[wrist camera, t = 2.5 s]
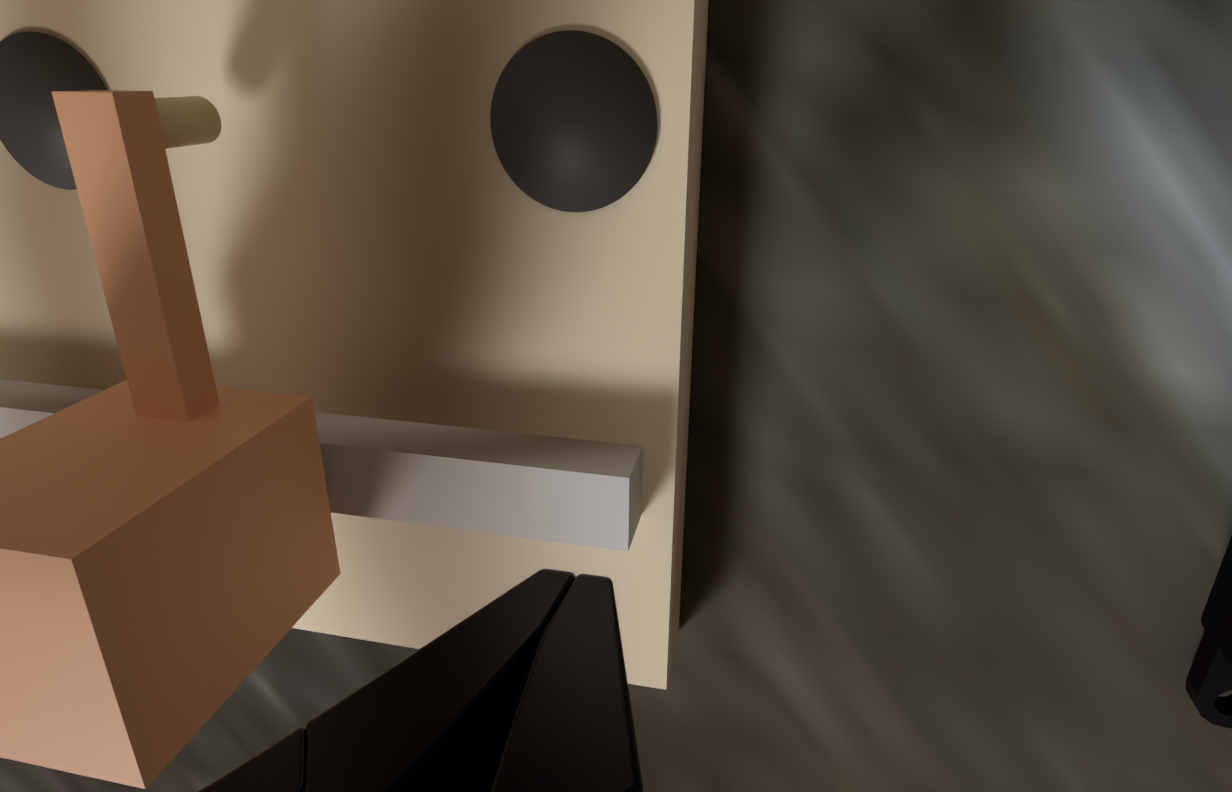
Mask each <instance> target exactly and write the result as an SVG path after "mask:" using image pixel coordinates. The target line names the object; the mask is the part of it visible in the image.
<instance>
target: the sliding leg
mask: <svg viewBox="0 0 1232 792" xmlns="http://www.w3.org/2000/svg"><path fill="white" fill-rule="evenodd" d="M51 92H52V95H53V99H54V103H55V107H56V111H57V115H58V118H59V122H60V126H61V130H62V134H63V138H64V141H65V145H66V149H67V153H68V157H69V161H70V164H71V168H72V172H73V176H74V180H75V184H76V187H77V191H78V195H79V199H80V203H81V207H82V210H83V214H84V218H85V222H86V226H87V230H88V233H89V237H90V241H91V245H92V249H93V253H94V257H95V260H96V264H97V268H98V272H99V276H100V280H101V283H102V287H103V291H104V295H105V299H106V303H107V306H108V310H109V314H110V318H111V322H112V326H113V329H114V333H115V337H116V341H117V345H118V349H119V352H120V356H121V360H122V364H123V368H124V372H125V375H126V379H127V380H125V381H123V382H121V383H119V384H117V385H114V386H112V387H110V388H108V389H106V390H104V391H102V392H99V393H97V394H95V395H93V396H91V397H89V398H87V399H84V400H82V401H80V402H78V403H76V404H74V405H72V406H69V407H67V408H65V409H63V410H61V411H59V412H56V413H54V414H52V415H50V416H48V417H46V418H44V419H41V420H39V421H37V422H35V423H33V424H31V425H29V426H26V427H24V428H22V429H20V430H18V431H16V432H13V433H11V434H9V435H7V436H5V437H3V438H1V439H0V757H2V758H6V759H11V760H15V761H20V762H25V763H29V764H34V765H38V766H43V767H47V768H52V769H56V770H61V771H65V772H70V773H75V774H79V775H84V776H88V777H93V778H97V779H102V780H106V781H111V782H116V783H120V784H125V785H129V786H134V787H138V788H143V789H146V788H147V787H148V785H149V784H150V783H151V782H152V781H153V780H154V779H155V778H156V777H157V776H158V774H159V773H160V772H161V771H162V770H163V769H164V768H165V767H166V766H167V765H168V763H169V762H170V761H171V760H172V759H173V758H174V757H175V756H176V755H177V754H178V752H179V751H180V750H181V749H182V748H183V747H184V746H185V745H186V744H187V742H188V741H189V740H190V739H191V738H192V737H193V736H194V735H195V734H196V733H197V731H198V730H199V729H200V728H201V727H202V726H203V725H204V724H205V723H206V722H207V720H208V719H209V718H210V717H211V716H212V715H213V714H214V713H215V712H216V711H217V709H218V708H219V707H220V706H221V705H222V704H223V703H224V702H225V701H226V700H227V698H228V697H229V696H230V695H231V694H232V693H233V692H234V691H235V690H236V688H237V687H238V686H239V685H240V684H241V683H242V682H243V681H244V680H245V679H246V677H247V676H248V675H249V674H250V673H251V672H252V671H253V670H254V669H255V668H256V666H257V665H258V664H259V663H260V662H261V661H262V660H263V659H264V658H265V657H266V655H267V654H268V653H269V652H270V651H271V650H272V649H273V648H274V647H275V646H276V644H277V643H278V642H279V641H280V640H281V639H282V638H283V637H284V636H285V634H286V633H287V632H288V631H289V630H290V629H291V628H292V627H293V626H294V625H295V623H296V622H297V621H298V620H299V619H300V618H301V617H302V616H303V615H304V614H305V612H306V611H307V610H308V609H309V608H310V607H311V606H312V605H313V604H314V603H315V601H316V600H317V599H318V598H319V597H320V596H321V595H322V594H323V593H324V592H325V590H326V589H327V588H328V587H329V586H330V585H331V584H332V583H333V582H334V580H335V579H336V578H337V577H338V576H339V575H340V574H341V573H340V567H339V561H338V555H337V548H336V542H335V536H334V530H333V524H332V517H331V511H330V505H329V499H328V493H327V486H326V480H325V474H324V468H323V461H322V455H321V449H320V443H319V437H318V430H317V424H316V418H315V412H314V406H313V399H312V397H311V396H301V395H291V394H281V393H271V392H260V391H250V390H240V389H230V388H220V387H216V385H215V380H214V376H213V371H212V366H211V361H210V357H209V352H208V347H207V343H206V338H205V333H204V329H203V324H202V319H201V315H200V310H199V305H198V300H197V296H196V291H195V286H194V282H193V277H192V272H191V268H190V263H189V258H188V253H187V249H186V244H185V239H184V235H183V230H182V225H181V221H180V216H179V211H178V206H177V202H176V197H175V192H174V188H173V183H172V178H171V174H170V169H169V164H168V159H167V155H166V150H165V149H168V148H175V147H183V146H191V145H198V144H206V143H211V142H213V141H215V140H216V139H217V138H218V136H219V135H220V132H221V119H220V115H219V113H218V111H217V109H216V108H215V106H214V105H213V104H212V103H211V102H210V101H209V100H207V99H206V98H204V97H200V96H186V97H166V98H154V94H153V91H129V90H81V91H51Z"/></svg>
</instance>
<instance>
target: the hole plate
mask: <svg viewBox="0 0 1232 792" xmlns="http://www.w3.org/2000/svg"><path fill="white" fill-rule="evenodd" d="M708 2H709V0H0V439H1V438H3V437H5V436H7V435H9V434H11V433H13V432H16V431H18V430H20V429H22V428H24V427H26V426H29V425H31V424H33V423H35V422H37V421H39V420H41V419H44V418H46V417H48V416H50V415H52V414H54V413H56V412H59V411H61V410H63V409H65V408H67V407H69V406H72V405H74V404H76V403H78V402H80V401H82V400H84V399H87V398H89V397H91V396H93V395H95V394H97V393H99V392H102V391H104V390H106V389H108V388H110V387H112V386H114V385H117V384H119V383H121V382H123V381H125V380H127V379H126V375H125V372H124V368H123V364H122V360H121V356H120V352H119V349H118V345H117V341H116V337H115V333H114V329H113V326H112V322H111V318H110V314H109V310H108V306H107V303H106V299H105V295H104V291H103V287H102V283H101V280H100V276H99V272H98V268H97V264H96V260H95V257H94V253H93V249H92V245H91V241H90V237H89V233H88V230H87V226H86V222H85V218H84V214H83V210H82V207H81V203H80V199H79V195H78V191H77V187H76V184H75V180H74V176H73V172H72V168H71V164H70V161H69V157H68V153H67V149H66V145H65V141H64V138H63V134H62V130H61V126H60V122H59V118H58V115H57V111H56V107H55V103H54V99H53V95H52V92H51V91H81V90H129V91H153V94H154V98H166V97H186V96H200V97H204V98H206V99H207V100H209V101H210V102H211V103H212V104H213V105H214V106H215V108H216V109H217V111H218V113H219V115H220V119H221V132H220V135H219V136H218V138H217V139H216V140H215V141H213V142H211V143H206V144H198V145H191V146H183V147H175V148H168V149H165V150H166V155H167V159H168V164H169V169H170V174H171V178H172V183H173V188H174V192H175V197H176V202H177V206H178V211H179V216H180V221H181V225H182V230H183V235H184V239H185V244H186V249H187V253H188V258H189V263H190V268H191V272H192V277H193V282H194V286H195V291H196V296H197V300H198V305H199V310H200V315H201V319H202V324H203V329H204V333H205V338H206V343H207V347H208V352H209V357H210V361H211V366H212V371H213V376H214V380H215V385H216V387H220V388H230V389H240V390H250V391H260V392H271V393H281V394H291V395H301V396H311V397H312V399H313V406H314V412H315V418H316V424H317V430H318V437H319V443H320V449H321V455H322V461H323V468H324V474H325V480H326V486H327V493H328V499H329V505H330V511H331V517H332V524H333V530H334V536H335V542H336V548H337V555H338V561H339V567H340V573H341V574H340V575H339V576H338V577H337V578H336V579H335V580H334V582H333V583H332V584H331V585H330V586H329V587H328V588H327V589H326V590H325V592H324V593H323V594H322V595H321V596H320V597H319V598H318V599H317V600H316V601H315V603H314V604H313V605H312V606H311V607H310V608H309V609H308V610H307V611H306V612H305V614H304V615H303V616H302V617H301V618H300V619H299V620H298V621H297V622H296V623H295V625H294V626H293V627H292V628H296V629H302V630H308V631H314V632H320V633H326V634H332V635H338V636H344V637H350V638H356V639H362V640H368V641H374V642H381V643H387V644H393V645H399V646H405V647H411V648H417V649H420V648H422V647H423V646H425V645H426V644H428V643H429V642H431V641H432V640H434V639H436V638H437V637H439V636H440V635H442V634H443V633H445V632H446V631H448V630H449V629H451V628H452V627H454V626H455V625H457V624H458V623H460V622H461V621H463V620H464V619H466V618H467V617H469V616H470V615H472V614H473V613H475V612H477V611H478V610H480V609H481V608H483V607H484V606H486V605H487V604H489V603H490V602H492V601H493V600H495V599H496V598H498V597H499V596H501V595H502V594H504V593H505V592H507V591H508V590H510V589H511V588H513V587H514V586H516V585H518V584H519V583H521V582H522V581H524V580H525V579H527V578H528V577H530V576H531V575H533V574H534V573H536V572H537V571H539V570H541V569H554V570H561V571H569V572H573V573H574V574H575V575H576V576H577V575H579V574H590V575H598V576H605V577H609V578H610V579H611V580H612V582H613V587H614V594H615V601H616V608H617V614H618V621H619V628H620V635H621V641H622V648H623V655H624V662H625V669H626V675H627V682H628V684H634V685H640V686H647V687H653V688H659V689H665V690H666V689H667V684H668V680H669V675H670V671H671V666H672V661H673V657H674V652H675V647H676V643H677V638H678V634H679V617H680V596H681V575H682V554H683V533H684V511H685V490H686V469H687V448H688V426H689V405H690V384H691V363H692V342H693V320H694V299H695V278H696V257H697V235H698V214H699V193H700V172H701V151H702V129H703V108H704V87H705V66H706V45H707V23H708Z"/></svg>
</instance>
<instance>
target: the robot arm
mask: <svg viewBox="0 0 1232 792" xmlns="http://www.w3.org/2000/svg"><path fill="white" fill-rule="evenodd" d="M1201 623H1202V625H1203V627H1204V628H1205V632H1204V634H1203V637H1202V640H1201V642H1200V645H1199V647H1198V650H1197V653H1196V655H1195V658H1194V661H1193V663H1192V666H1191V669H1190V671H1189V674H1188V676H1187V679H1186V691H1187V693H1188V695H1189V697H1190V698H1191V700H1192V702H1193V703H1194V705H1195V707H1196V708H1197V710H1198V711H1199V713H1200V715H1201V716H1202V717H1203V718H1205V719H1206V720H1207V721H1209V722H1210V723H1212V724H1215V725H1219V726H1222V727H1227V728H1232V694H1231V695H1229V696H1226V697H1218V696H1219V695H1220V694H1221V693H1224V692H1226V691H1229V690H1232V537H1231V539H1230V542H1229V545H1228V547H1227V550H1226V553H1225V555H1224V558H1223V561H1222V563H1221V566H1220V569H1219V571H1218V574H1217V577H1216V579H1215V582H1214V585H1213V587H1212V590H1211V593H1210V595H1209V598H1208V601H1207V603H1206V606H1205V609H1204V611H1203V614H1202V617H1201ZM198 792H643V784H642V777H641V770H640V763H639V757H638V750H637V743H636V736H635V730H634V723H633V716H632V709H631V702H630V696H629V689H628V682H627V675H626V669H625V662H624V655H623V648H622V641H621V635H620V628H619V621H618V614H617V608H616V601H615V594H614V587H613V582H612V580H611V579H610V578H609V577H605V576H598V575H590V574H579V575H577V576H576V575H575V574H574V573H573V572H569V571H561V570H554V569H541V570H539V571H537V572H536V573H534V574H533V575H531V576H530V577H528V578H527V579H525V580H524V581H522V582H521V583H519V584H518V585H516V586H514V587H513V588H511V589H510V590H508V591H507V592H505V593H504V594H502V595H501V596H499V597H498V598H496V599H495V600H493V601H492V602H490V603H489V604H487V605H486V606H484V607H483V608H481V609H480V610H478V611H477V612H475V613H473V614H472V615H470V616H469V617H467V618H466V619H464V620H463V621H461V622H460V623H458V624H457V625H455V626H454V627H452V628H451V629H449V630H448V631H446V632H445V633H443V634H442V635H440V636H439V637H437V638H436V639H434V640H432V641H431V642H429V643H428V644H426V645H425V646H423V647H422V648H420V649H419V650H417V651H416V652H414V653H413V654H411V655H410V656H408V657H407V658H405V659H404V660H402V661H401V662H399V663H398V664H396V665H395V666H393V667H392V668H390V669H388V670H387V671H385V672H384V673H382V674H381V675H379V676H378V677H376V678H375V679H373V680H372V681H370V682H369V683H367V684H366V685H364V686H363V687H361V688H360V689H358V690H357V691H355V692H354V693H352V694H351V695H349V696H347V697H346V698H344V699H343V700H341V701H340V702H338V703H337V704H335V705H334V706H332V707H331V708H329V709H328V710H326V711H325V712H323V713H322V714H320V715H319V716H317V717H316V718H314V719H313V720H311V721H310V722H308V723H307V725H306V730H305V729H304V728H298V729H297V730H295V731H294V732H292V733H291V734H289V735H288V736H286V737H285V738H283V739H282V740H280V741H279V742H277V743H276V744H274V745H273V746H271V747H270V748H268V749H266V750H265V751H263V752H262V753H260V754H259V755H257V756H255V757H254V758H252V759H251V760H249V761H247V762H246V763H244V764H243V765H241V766H239V767H238V768H236V769H235V770H233V771H231V772H230V773H228V774H227V775H225V776H224V777H222V778H220V779H219V780H217V781H215V782H214V783H212V784H210V785H208V786H207V787H205V788H203V789H202V790H200V791H198Z"/></svg>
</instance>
